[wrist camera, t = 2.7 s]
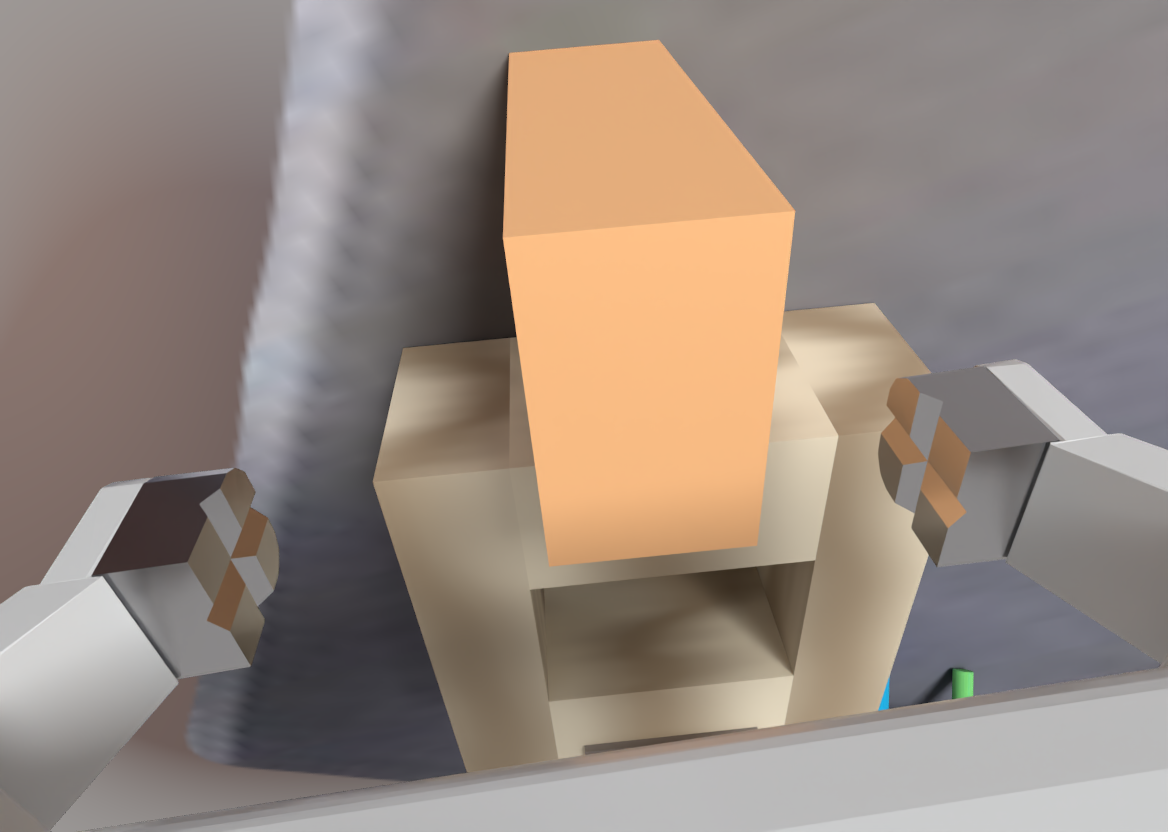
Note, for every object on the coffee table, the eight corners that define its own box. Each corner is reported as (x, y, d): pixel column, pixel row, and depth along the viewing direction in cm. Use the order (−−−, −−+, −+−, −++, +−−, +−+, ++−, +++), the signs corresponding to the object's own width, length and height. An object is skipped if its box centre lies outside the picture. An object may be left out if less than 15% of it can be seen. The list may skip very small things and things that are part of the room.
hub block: (874, 302, 19) (976, 428, 15) (814, 603, 26) (872, 744, 22) (402, 347, 18) (371, 489, 14) (476, 638, 26) (469, 787, 22)
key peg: (659, 40, 15) (794, 210, 8) (659, 268, 18) (757, 546, 11) (509, 53, 15) (503, 237, 7) (535, 280, 18) (549, 567, 10)
